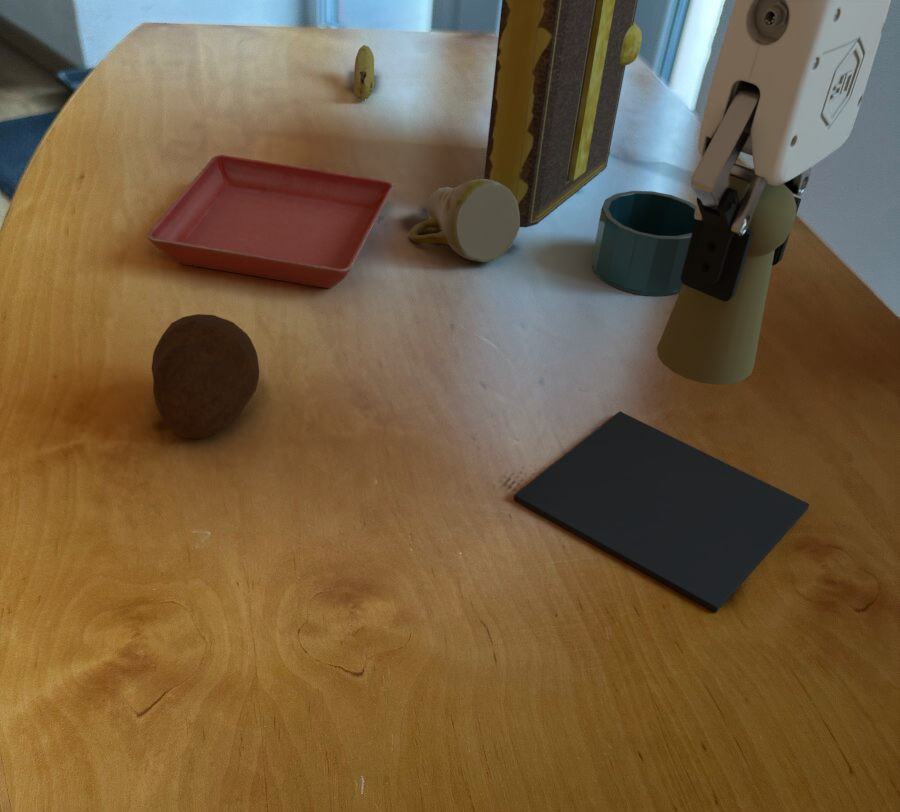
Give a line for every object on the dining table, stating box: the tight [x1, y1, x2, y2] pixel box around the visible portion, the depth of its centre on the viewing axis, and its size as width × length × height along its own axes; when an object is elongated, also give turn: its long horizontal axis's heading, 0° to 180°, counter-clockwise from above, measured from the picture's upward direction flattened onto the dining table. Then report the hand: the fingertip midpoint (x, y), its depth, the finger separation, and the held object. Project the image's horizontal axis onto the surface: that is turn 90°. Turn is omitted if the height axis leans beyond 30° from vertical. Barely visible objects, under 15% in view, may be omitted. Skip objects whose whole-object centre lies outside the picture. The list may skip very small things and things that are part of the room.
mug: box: [407, 178, 521, 263], centre depth 95 cm, size 8×10×10 cm
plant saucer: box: [146, 154, 395, 289], centre depth 93 cm, size 18×18×3 cm
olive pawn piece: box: [656, 176, 797, 386], centre depth 59 cm, size 6×6×11 cm
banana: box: [353, 44, 375, 101], centre depth 121 cm, size 10×2×4 cm, turn 1°
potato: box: [151, 313, 260, 440], centre depth 72 cm, size 7×10×8 cm
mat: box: [513, 411, 810, 613], centre depth 72 cm, size 16×14×1 cm
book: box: [483, 0, 643, 228], centre depth 99 cm, size 22×8×25 cm, turn 150°
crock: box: [591, 190, 697, 297], centre depth 94 cm, size 10×10×6 cm
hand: (731, 270), depth 59 cm, fingers closed on olive pawn piece, 5 cm apart
